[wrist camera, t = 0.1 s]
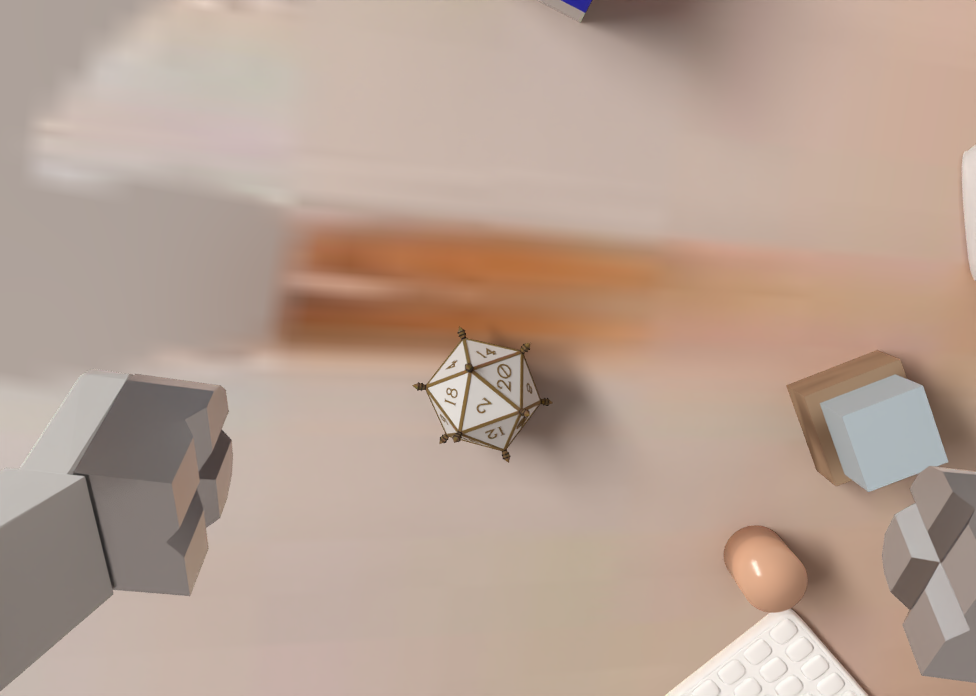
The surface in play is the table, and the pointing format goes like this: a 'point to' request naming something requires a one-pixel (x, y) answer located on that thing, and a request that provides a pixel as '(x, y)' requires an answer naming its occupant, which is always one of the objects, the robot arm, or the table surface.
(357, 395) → the table surface
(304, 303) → the table surface
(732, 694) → the calculator
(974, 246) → the photo printer
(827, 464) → the walnut block
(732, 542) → the terracotta capsule
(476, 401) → the game die
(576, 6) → the puzzle toy
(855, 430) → the blue-grey cube
